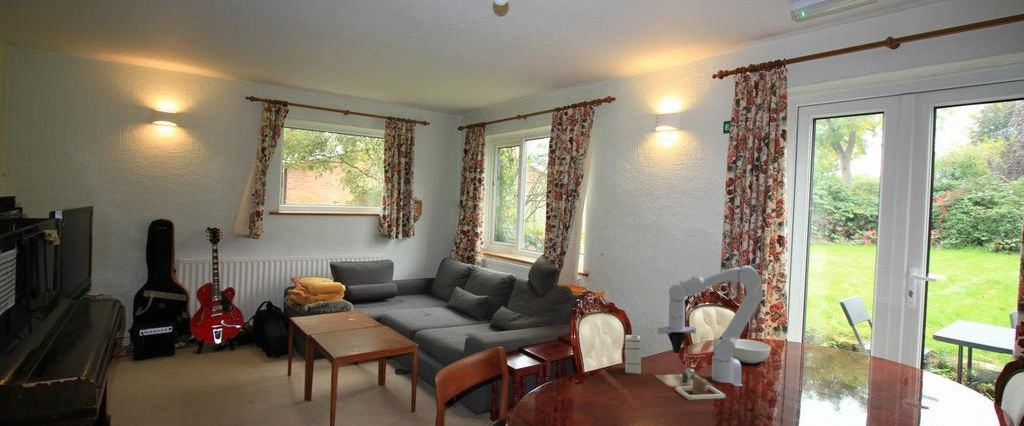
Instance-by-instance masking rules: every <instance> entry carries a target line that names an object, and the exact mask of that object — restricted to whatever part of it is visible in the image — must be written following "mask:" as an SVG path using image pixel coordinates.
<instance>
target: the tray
mask: <svg viewBox="0 0 1024 426" xmlns="http://www.w3.org/2000/svg"><path fill="white" fill-rule="evenodd" d="M674 390H675V392H677V393H679V394H680V395H682V396H683V397H684V398H685V399H687V400H692V401H693V400H710V399H711V400H712V399H726V397H727V396H726V394H725V393H724V392H722V391H720V390H719V389H717V388H716V387H714V386H713V385H707V391H708V390H709V391H711V392H712V393H710V394H709V393H707V394H706V395H694V394H689V393H687V392H686V391H693V386H676V387H674Z"/></svg>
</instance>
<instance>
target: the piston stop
mask: <svg viewBox="0 0 1024 426" xmlns="http://www.w3.org/2000/svg"><path fill="white" fill-rule="evenodd" d="M707 382H708V380H707V379H706V378H702V377H701V378H693V390H692V395H706V394H708V390H707Z"/></svg>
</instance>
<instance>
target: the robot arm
mask: <svg viewBox="0 0 1024 426" xmlns="http://www.w3.org/2000/svg"><path fill="white" fill-rule="evenodd" d="M739 280H740V282H741V283H742V285H743V287H744V289H745V292H746V295H745V297H744V299H743V300H742V301H741V304H740V305H739V307H738V308H737V310H736V312H735V314H734V316H733V317H732V319H731V320H730V322H729V323H728V325H727V327H726V328H725V330H724V332H722V333H721V336H719V337H717V338H716V339H715V340H714V342H713V355H712V358H711V359H712V360H711V379H712V380H713V381H715V382H718V383H724V384H725V383H726V384H729V383H730V384H732V385H733V386H736V387H743V384H742V364H741V361H739V360H738V359H736V358H734V357H732V356H733V349H734V347H735V345H736V342H737V339H740V335H741V334H742V332H743V331H744V329H745V328H746V326H747V324H748V322H749V320H750V319H751V317H752V316H753V314H754V312H755V310H756V309H757V307H758V306H759V304H760V303H761V300H762V299H763V296H764V294H763V286H762V285H763V284H762V278H761V276H760V274H759V272H758V271H757V269H755V268H754V266H752V265H748V264H744V265H742V266H735V267H731V268H728V269H725V270H723V271H720V272H718V273H715V274H712V275H710V276H707V277H704V278H703V277H701V276H695V275H694V276H691V278H690V279H687V280H685V281H682V280H680V281H679V282H678V283H674V284H672V285H671V286H670V288H669V289H668V295H669V301H668V302H669V303H668V326H664V327H657V329H656V330H657V332H656V333H657V334H659V335H663V334H667V336H668V338H669V341H670V343H671V347H672V352H673V353H674V354H680V351H681V348H682V345H683V343H684V341H685V339H686V338H687V334H696V333H697V328H696V327H695V326H685V324H686V323H685V321H686V304H685V298H686V297H691V296H694V295H698V294H700V293H701V294H702V293H705V292H706V290H707V288H708V287H711V286H714V285H717V284H720V283H725V282H728V281H732V282H736V283H738V282H739Z"/></svg>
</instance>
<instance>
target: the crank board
mask: <svg viewBox="0 0 1024 426" xmlns="http://www.w3.org/2000/svg"><path fill="white" fill-rule="evenodd" d="M654 376H655V378H657V379H659V381H661V382H663V383H664V384H665V385H666V386H668V387H673V388H675V387H681V386H693V378H702V377H700V376H699V375H698V374H696V373H695V377H693V378H691V379H690V381H689V382H688V384H682V374H681V373H679V374H675V373H674V374H654ZM707 385H711V386H713V384H712V383H710V382H709V381H707Z"/></svg>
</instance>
